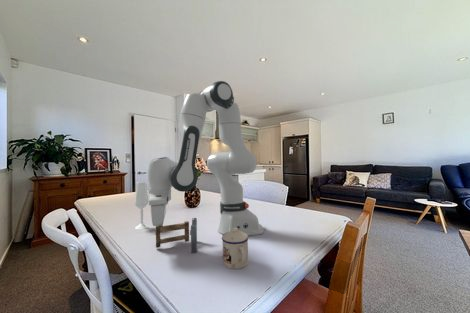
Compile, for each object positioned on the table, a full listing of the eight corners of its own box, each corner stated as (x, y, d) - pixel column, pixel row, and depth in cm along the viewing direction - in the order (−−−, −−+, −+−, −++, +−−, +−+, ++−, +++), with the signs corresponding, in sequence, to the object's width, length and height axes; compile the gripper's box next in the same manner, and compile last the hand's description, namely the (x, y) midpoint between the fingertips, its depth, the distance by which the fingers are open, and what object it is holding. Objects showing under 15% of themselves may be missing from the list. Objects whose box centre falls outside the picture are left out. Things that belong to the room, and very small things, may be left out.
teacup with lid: (218, 259, 70) (218, 226, 70) (241, 253, 73) (241, 222, 73) (231, 277, 58) (230, 238, 59) (258, 270, 62) (257, 233, 62)
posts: (199, 240, 86) (199, 217, 86) (196, 252, 75) (196, 226, 75) (192, 240, 86) (192, 217, 86) (188, 253, 74) (187, 226, 75)
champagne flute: (149, 227, 104) (149, 182, 104) (135, 230, 100) (135, 183, 100) (147, 224, 109) (147, 181, 110) (134, 226, 106) (133, 182, 106)
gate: (188, 240, 85) (187, 220, 85) (189, 242, 82) (189, 222, 83) (155, 246, 79) (155, 225, 79) (156, 249, 77) (156, 227, 77)
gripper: (154, 192, 90) (155, 223, 90) (148, 201, 71) (148, 240, 71) (169, 192, 92) (169, 221, 92) (166, 200, 73) (166, 238, 72)
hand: (160, 229), depth 81 cm, fingers closed
